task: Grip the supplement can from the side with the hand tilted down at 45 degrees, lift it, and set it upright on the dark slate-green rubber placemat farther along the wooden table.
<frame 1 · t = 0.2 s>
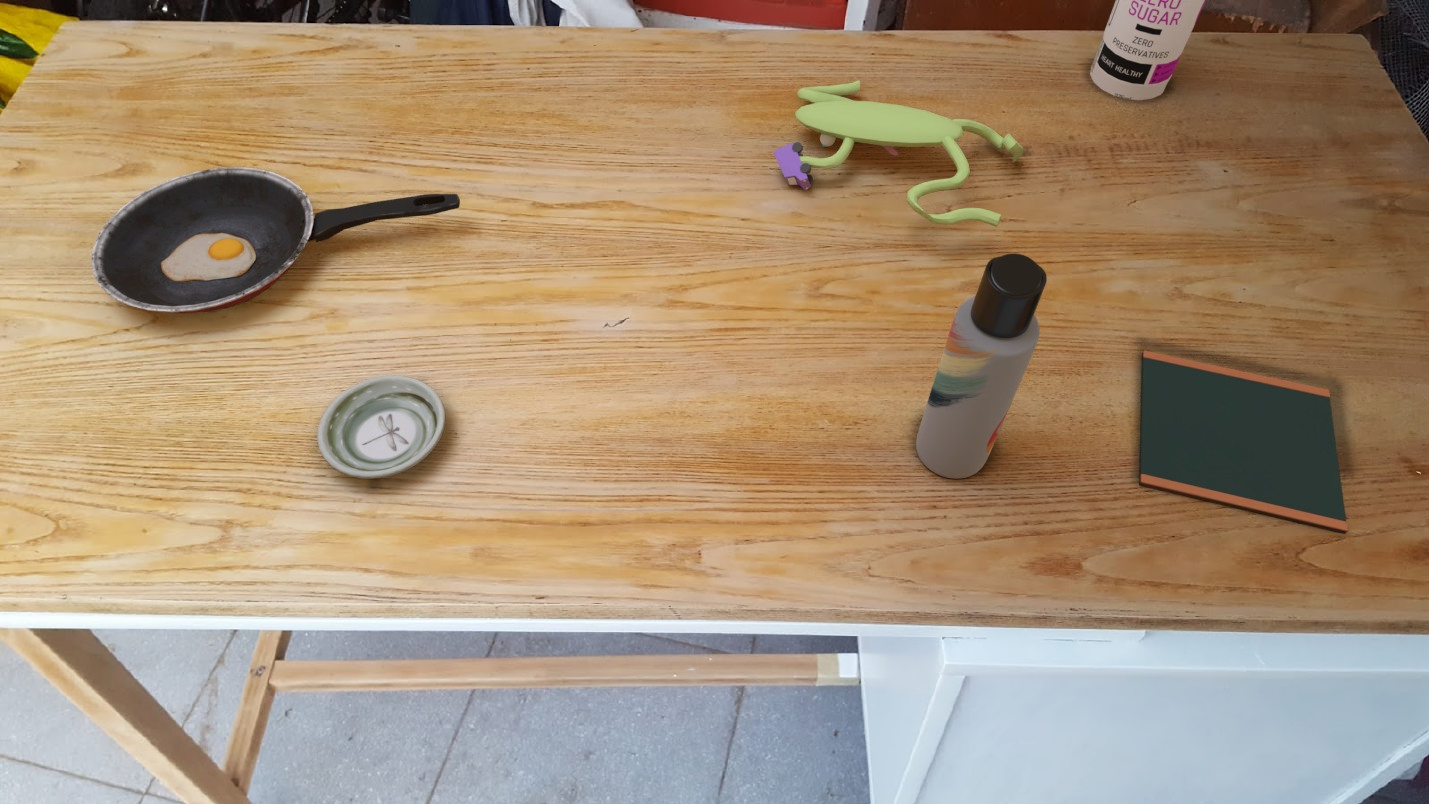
lotion bottle: (949, 452, 75), on the table
figurine: (895, 172, 96), on the table
frying pan: (293, 251, 88), on the table
supplement can: (1123, 88, 106), on the table
saucer: (389, 442, 75), on the table
mat: (1236, 437, 76), on the table
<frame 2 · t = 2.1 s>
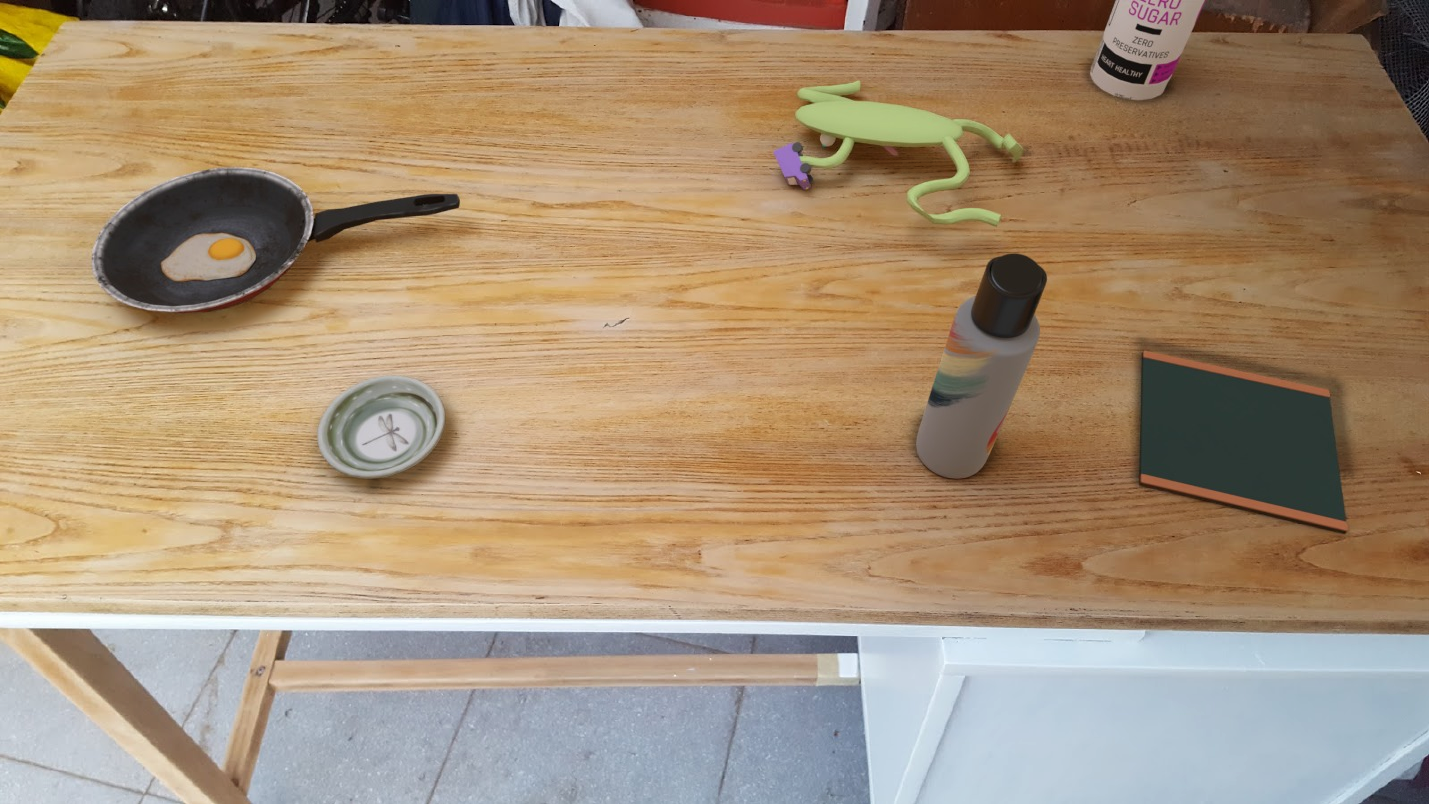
nothing on the table moved.
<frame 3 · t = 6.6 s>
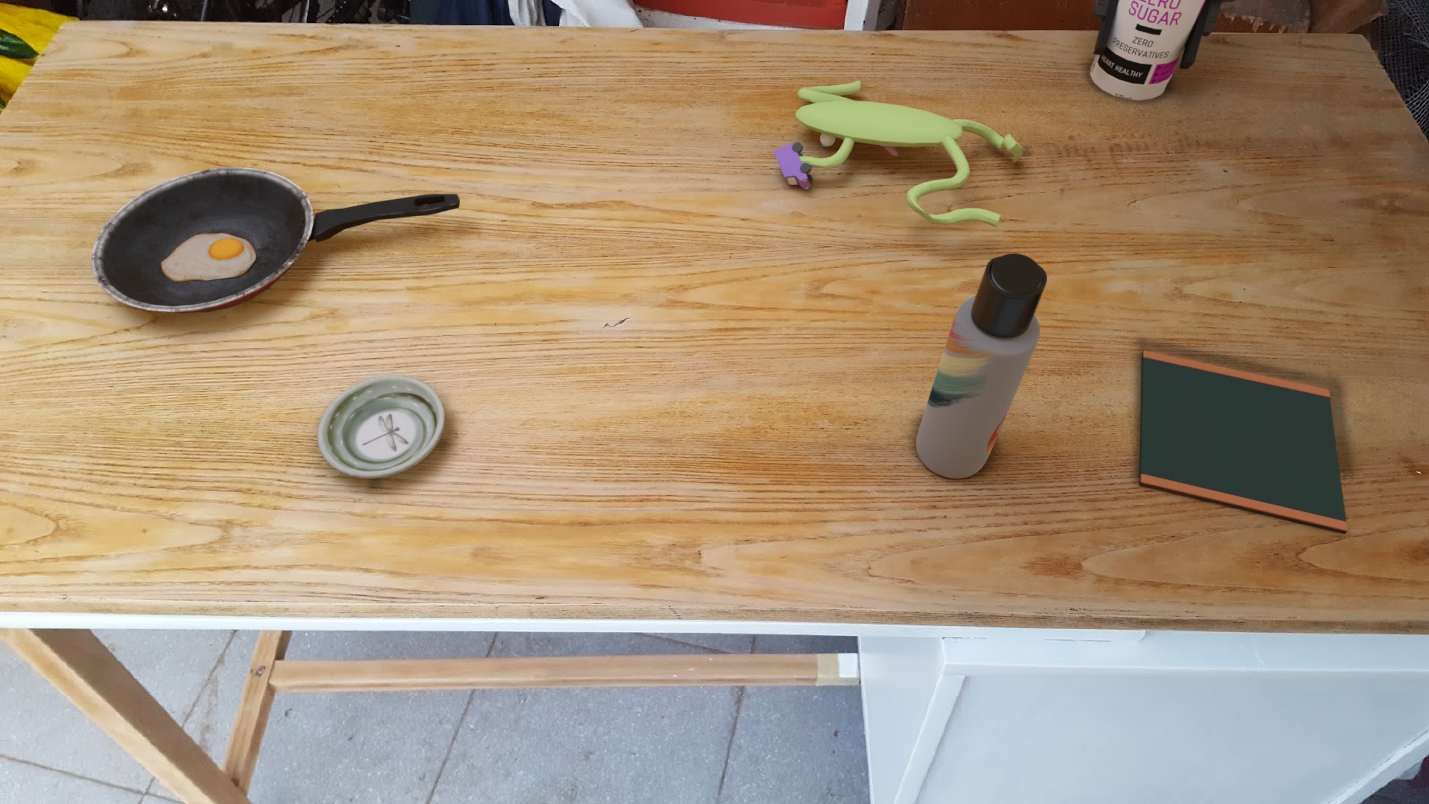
hand: (1142, 58, 99), 6 cm above the table, tool tilted 45°, fingers closed on supplement can, 8 cm apart
supplement can: (1123, 88, 106), on the table, touching gripper
everything else where it was.
when the fingers open (6 cm above the table, at t = 19.9 s): supplement can stays where it is, resting on mat.
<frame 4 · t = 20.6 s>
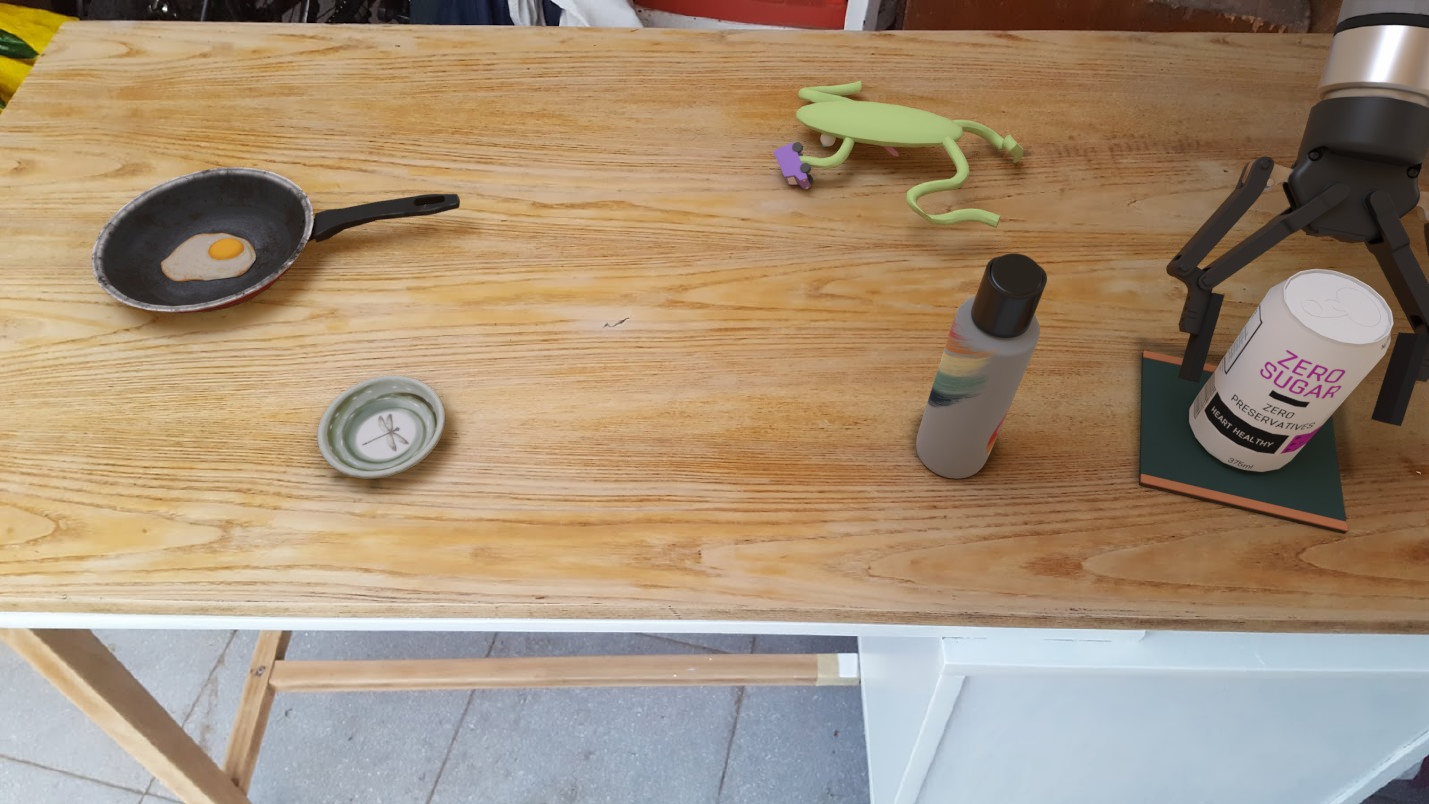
hand: (1285, 401, 69), 8 cm above the table, tool tilted 45°, fingers open, 13 cm apart
supplement can: (1236, 435, 76), resting on mat
everything else where it was.
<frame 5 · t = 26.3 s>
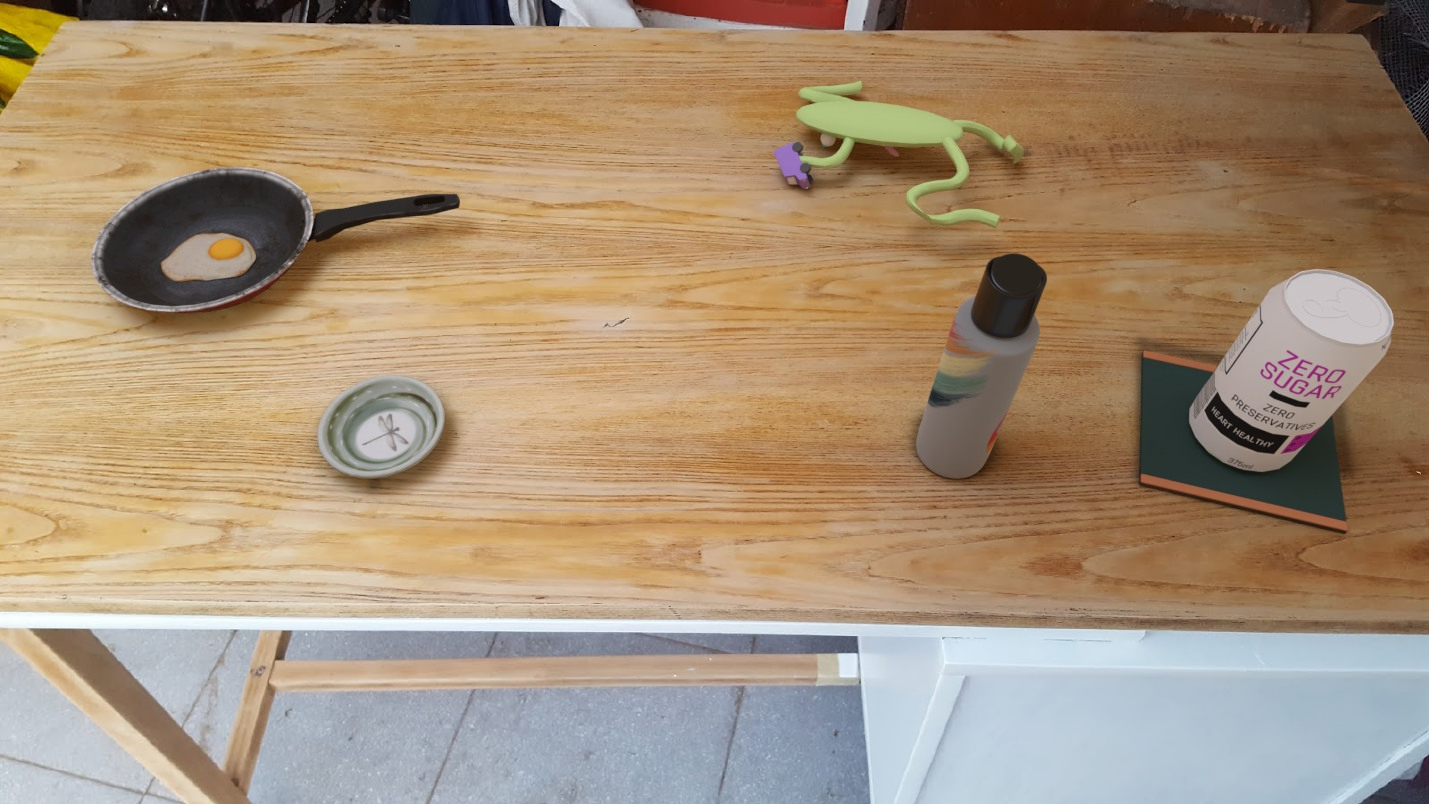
nothing on the table moved.
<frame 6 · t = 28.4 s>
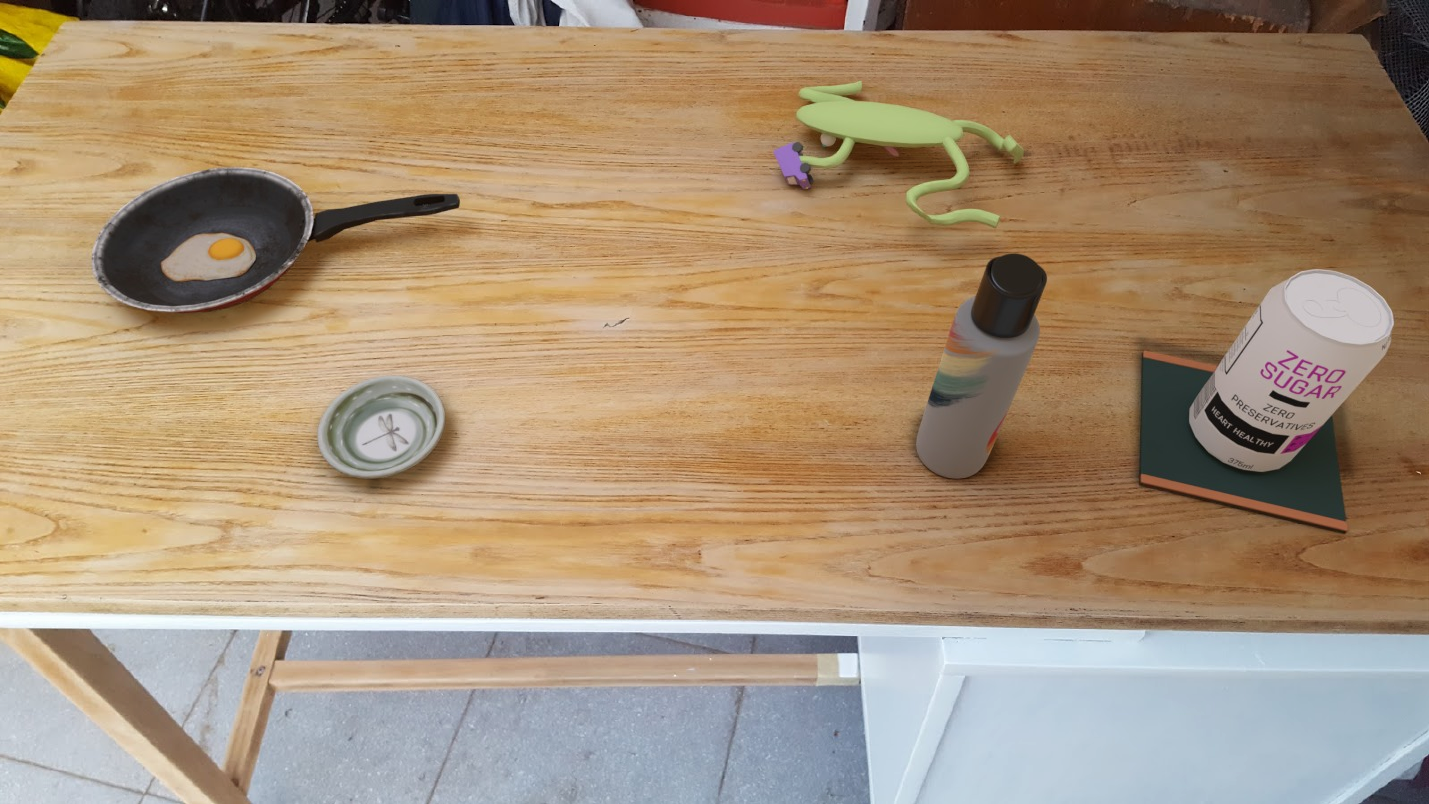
nothing on the table moved.
at the end: supplement can inside the target area on the mat (0.0 cm from its centre), point 0.2 cm above the mat's base; supplement can tilted 0°; the gripper is holding nothing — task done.
